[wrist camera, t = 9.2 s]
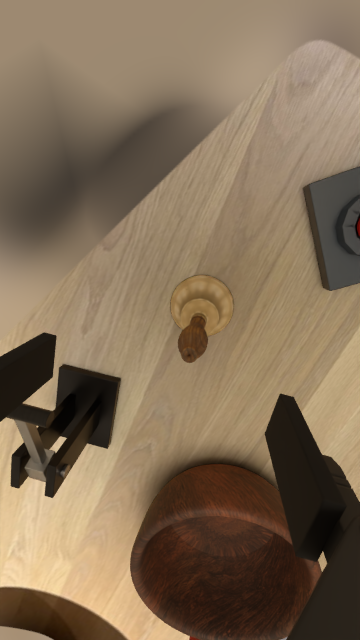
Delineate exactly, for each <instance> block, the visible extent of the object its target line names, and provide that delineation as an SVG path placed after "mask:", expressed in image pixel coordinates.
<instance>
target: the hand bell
mask: <svg viewBox="0 0 360 640" xmlns="http://www.w3.org/2000/svg"><path fill="white" fill-rule="evenodd" d="M170 308H171V314H172V317H173V319H174V321H175V322H176V324H177V325H178V326H179V327H180V328H181V329H182V330H183V331H182V332H181V334H180V336H179V339H178V348H179V351H180V353H181V357H182V359H183V360H184V361H185V362H187V363H192V362H194V361H195V360H196V359H197V358H199V357H200V356H201V355H203V353H204V352H205V350H206V348H207V343H208V337H207V336H211V335H214V334H216V333H218V332H220V331H221V330H223V329H224V328H225V327H226V326H227V324H228V323H229V322H230V320H231V317H232V314H233V310H234V303H233V298H232V295H231V293H230V291H229V289H228V288H227V287H226V286H225V285H224V284H223V283H222V282H221V281H220V280H218V279H216V278H214V277H211V276H206V275H198V276H193V277H190V278H188V279H186V280H184V281H183V282H181V283H180V284H179V285H178V286H177V288H176V289H175V291H174V293H173V295H172V298H171V304H170Z"/></svg>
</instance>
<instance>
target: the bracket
mask: <svg viewBox="0 0 360 640" xmlns="http://www.w3.org/2000/svg"><path fill="white" fill-rule="evenodd" d="M120 381H121V379H120V378H116V377H112V376H108V375H104V374H100V373H96V372H92V371H88V370H84V369H80V368H76V367H72V366H68V365H64V364H63V365H62V366H61V367H59V377H58V388H57V400H56V409H55V410H54V411H53V412H54V419H53V422H52V423H51V425H50V426H49V427H48V428H44V427H41V426H39V427H38V428H37V430H38V433H39V436H40V438H41V441H42V444H43V447H44V449H48V450H49V449H50V448H51V447H52V446H53V444H54V443H55V442H56V440H57V439H58V438H59V437H60V436H62V437H66V438H67V439H66V440H65V442H64V443H63V444H62V446H61V447H60V449H59V450H58V451H57V453H56V454H55V455H54V457H53V458H52V459H51V461H50V462H49V463H48V465H47V474H46V486H45V496H47V497H51V498H53V497H54V495H55V494H56V492H57V491H58V489H59V487H60V486H61V484H62V483H63V481H64V479H65V478H66V476H67V475H68V473H69V471H70V470H71V468H72V467H73V465H74V463H75V462H76V460H77V459H78V457H79V455H80V454H81V452H82V451H83V449H84V447H85V446H86V444H87V443H88V444H92V445H96V446H99V447H103V448H107V449H108V447H109V445H110V442H111V436H112V430H113V424H114V417H115V411H116V405H117V399H118V393H119V387H120ZM30 458H31V456H30V454H29V452H28V449H27V447H26V445H25V443H23V444H22V445H21V446H20V447H19V448H18V449H17V450H16V451H15V452H14V453H13V454H12V462H11V486H12V487H15V488H20V486H21V485H22V484H23V482H24V481H25V480H26V479H27V477H28V476H29V475H28V473H27V471H26V469H25V466H26V464H27V462H28V461H29V459H30Z"/></svg>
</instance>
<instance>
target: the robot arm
mask: <svg viewBox="0 0 360 640" xmlns="http://www.w3.org/2000/svg"><path fill="white" fill-rule="evenodd" d="M55 346H56V335H52V334H48V333H42V334H40V335H38V336H37V337H35V338H33V339H31V340H29V341H28V342H26V343H24V344H22V345H20V346H19V347H17V348H15V349H13V350H11V351H10V352H8V353H6V354H4V355H2V356H1V357H0V422H1V421H2V420H3V419H4V418H5V417H7V416H8V415H9V414H10V413H11V412H12V411H14V410H15V409H16V408H17V407H18V406H19V405H21V404H22V403H23V402H24V401H25V400H26V399H28V398H29V397H30V396H31V395H32V394H33V393H35V392H36V391H37V390H38V389H39V388H40V387H42V386H43V385H44V384H45V383H46V382H47V381H49V380H50V379H51V378H52V377H53V368H54V357H55ZM265 436H266V440H267V444H268V448H269V452H270V456H271V460H272V464H273V468H274V472H275V476H276V480H277V484H278V488H279V492H280V496H281V500H282V504H283V508H284V512H285V516H286V520H287V524H288V528H289V532H290V536H291V540H292V544H293V548H294V552H295V556H297V557H300V558H303V559H307V560H310V561H314V562H317V561H318V559H319V557H320V555H321V553H322V551H323V552H324V555H325V558H326V561H327V565H326V567H325V569H324V570H323V572H322V574H321V576H320V578H319V579H318V581H317V583H316V585H315V587H314V589H313V591H312V593H311V595H310V596H309V598H308V600H307V602H306V604H305V606H304V607H303V609H302V611H301V613H300V615H299V617H298V619H297V620H296V622H295V624H294V626H293V628H292V630H291V632H290V633H289V635H288V637H287V639H286V640H360V502H359V500H358V498H357V497H356V495H355V493H354V491H353V489H351V486H350V484H349V482H348V480H346V476H345V474H344V473H343V471H342V469H341V467H340V466H339V465H338V464H337V463H336V462H335V461H334V460H333V459H332V458H331V457H329V456H325V455H322V454H321V452H320V450H319V448H318V446H317V444H316V442H315V440H314V438H313V436H312V434H311V432H310V430H309V427H308V425H307V423H306V421H305V419H304V417H303V415H302V413H301V411H300V409H299V407H298V405H297V403H296V401H295V399H294V397H291V396H287V395H284V394H280V395H279V398H278V400H277V403H276V405H275V408H274V411H273V413H272V416H271V419H270V421H269V424H268V426H267V429H266V432H265Z"/></svg>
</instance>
